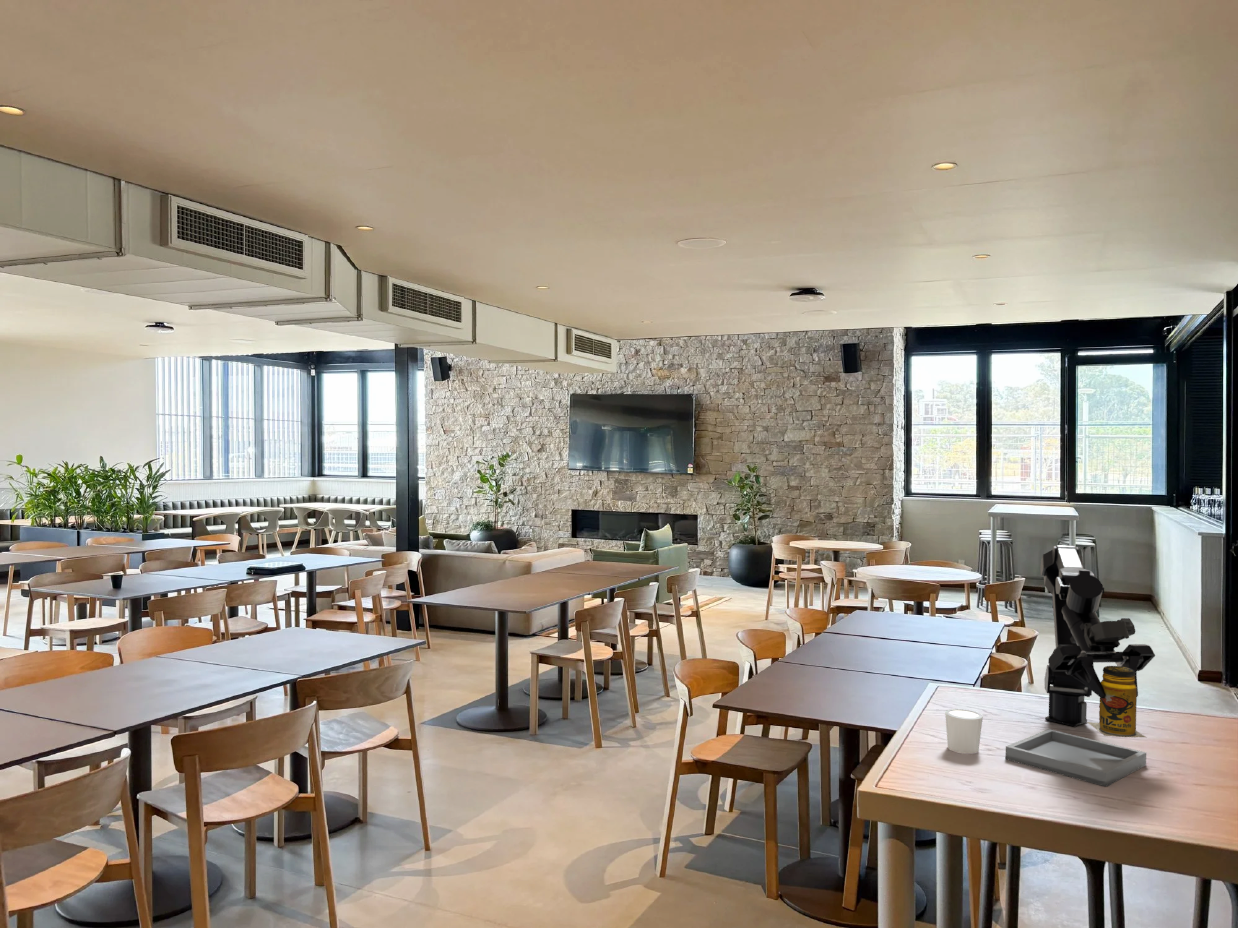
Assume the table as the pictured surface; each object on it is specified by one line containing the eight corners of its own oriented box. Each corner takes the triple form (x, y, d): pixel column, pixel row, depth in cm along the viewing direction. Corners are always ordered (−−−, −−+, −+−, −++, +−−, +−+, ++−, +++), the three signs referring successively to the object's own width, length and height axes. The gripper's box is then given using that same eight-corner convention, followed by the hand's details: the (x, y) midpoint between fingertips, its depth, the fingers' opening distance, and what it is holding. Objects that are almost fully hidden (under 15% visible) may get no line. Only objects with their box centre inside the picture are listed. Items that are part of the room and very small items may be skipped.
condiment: (1105, 736, 167) (1107, 672, 166) (1086, 722, 175) (1088, 661, 175) (1147, 738, 166) (1149, 673, 166) (1125, 724, 174) (1127, 662, 174)
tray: (1005, 758, 171) (1005, 746, 171) (1048, 740, 183) (1049, 728, 183) (1105, 786, 157) (1106, 772, 157) (1145, 765, 169) (1146, 752, 169)
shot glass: (964, 756, 172) (965, 720, 172) (936, 746, 178) (937, 710, 178) (989, 752, 175) (990, 716, 175) (961, 741, 181) (962, 706, 181)
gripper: (1058, 602, 173) (1092, 674, 162) (1149, 602, 175) (1189, 673, 164) (1034, 635, 181) (1065, 705, 170) (1122, 635, 183) (1158, 704, 172)
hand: (1119, 696), depth 169 cm, fingers closed on condiment, 6 cm apart
